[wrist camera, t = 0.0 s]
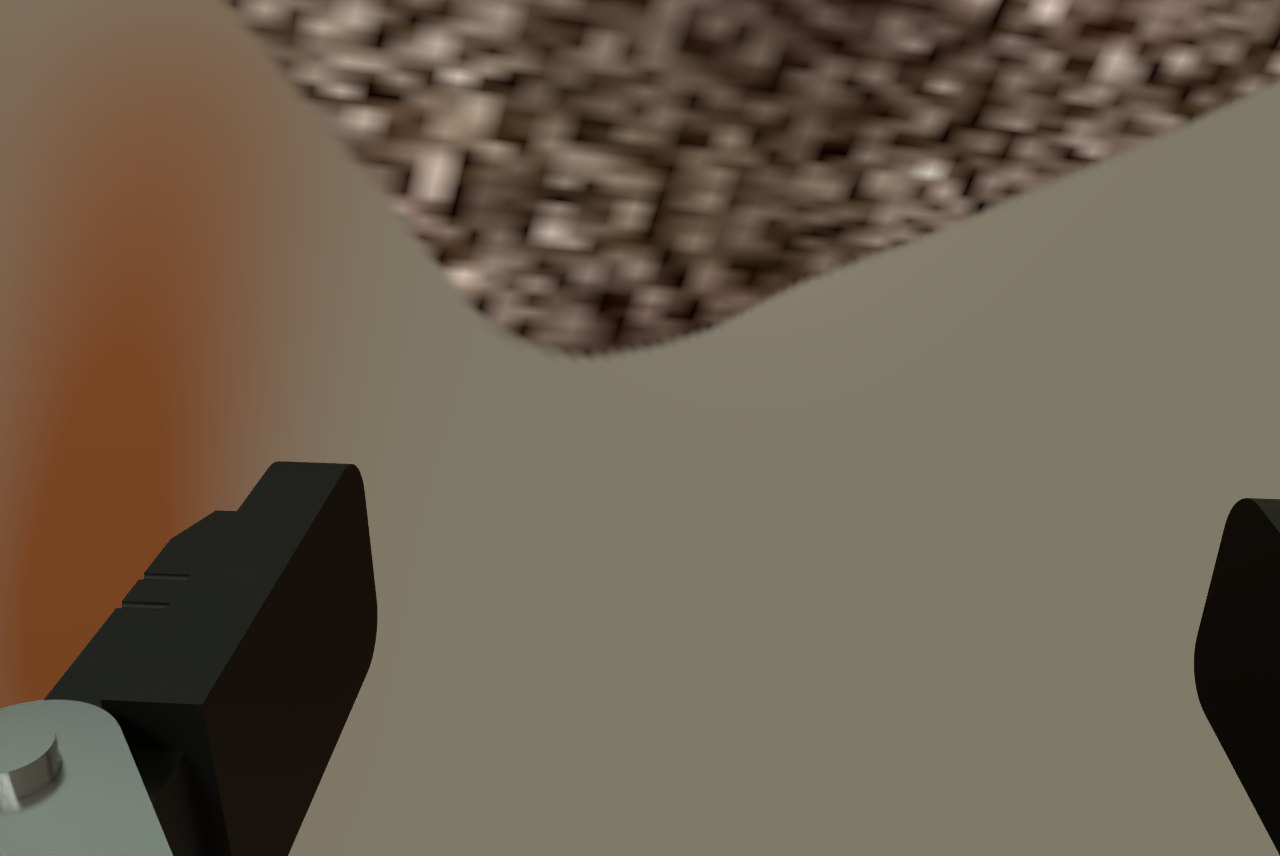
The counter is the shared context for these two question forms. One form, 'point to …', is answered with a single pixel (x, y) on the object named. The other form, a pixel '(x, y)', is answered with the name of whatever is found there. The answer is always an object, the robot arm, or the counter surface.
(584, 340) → the counter surface
